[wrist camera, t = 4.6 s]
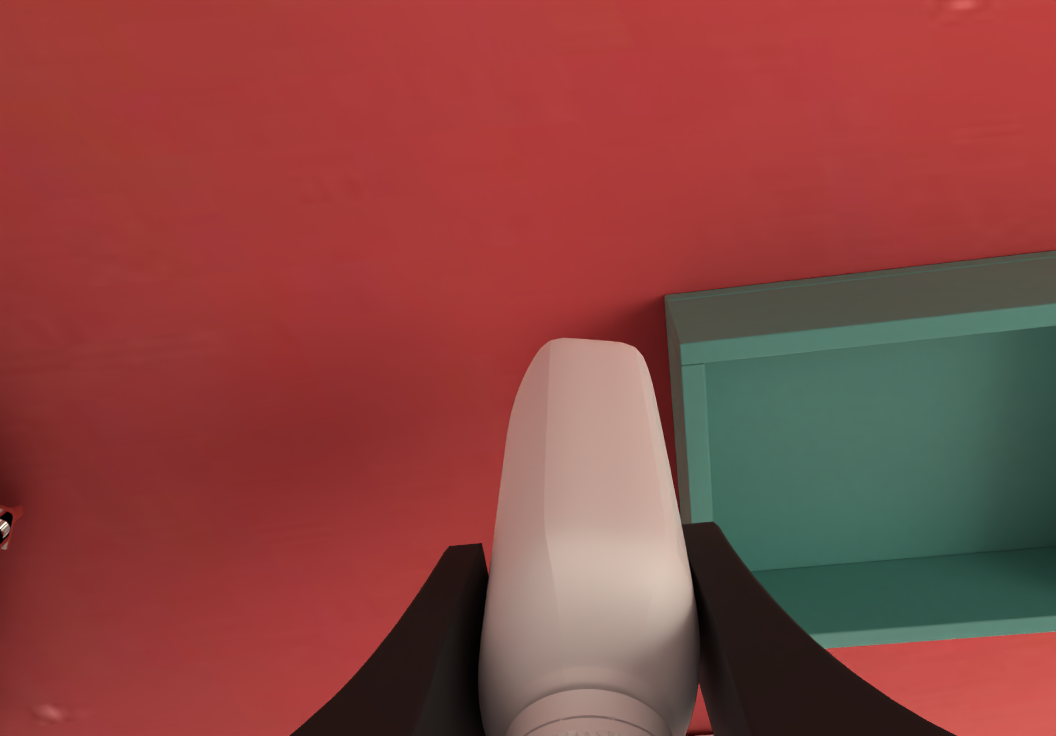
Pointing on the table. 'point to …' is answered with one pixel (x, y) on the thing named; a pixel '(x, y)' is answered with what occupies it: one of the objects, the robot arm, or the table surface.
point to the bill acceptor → (8, 523)
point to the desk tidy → (879, 444)
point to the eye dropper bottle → (588, 558)
